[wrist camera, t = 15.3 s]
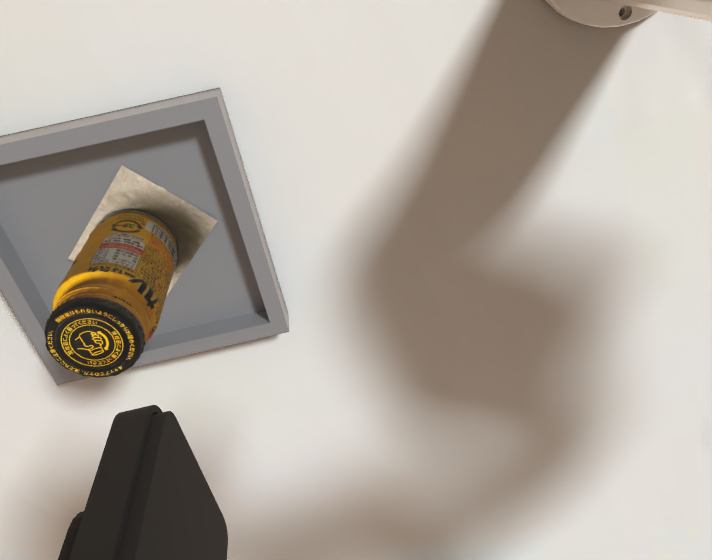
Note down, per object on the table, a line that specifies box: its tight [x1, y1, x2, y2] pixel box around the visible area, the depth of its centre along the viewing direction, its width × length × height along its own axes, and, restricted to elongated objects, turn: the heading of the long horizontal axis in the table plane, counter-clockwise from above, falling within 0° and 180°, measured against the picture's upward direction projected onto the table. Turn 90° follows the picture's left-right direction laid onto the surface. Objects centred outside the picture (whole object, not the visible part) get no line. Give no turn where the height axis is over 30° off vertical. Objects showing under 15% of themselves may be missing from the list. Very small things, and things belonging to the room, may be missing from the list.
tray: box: [0, 88, 289, 385], centre depth 42 cm, size 18×18×2 cm
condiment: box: [44, 166, 217, 377], centre depth 37 cm, size 7×8×12 cm
